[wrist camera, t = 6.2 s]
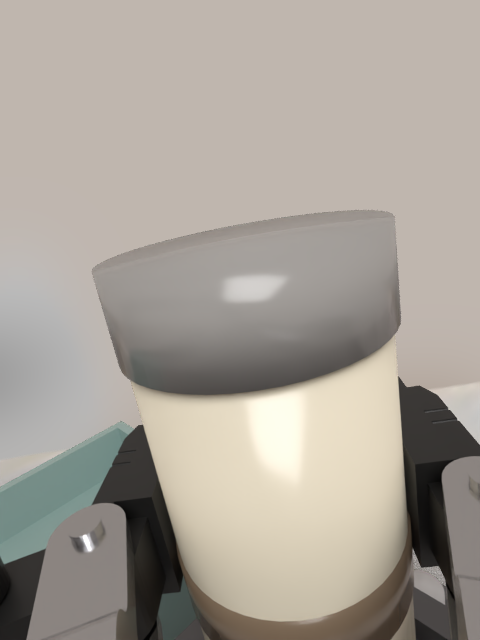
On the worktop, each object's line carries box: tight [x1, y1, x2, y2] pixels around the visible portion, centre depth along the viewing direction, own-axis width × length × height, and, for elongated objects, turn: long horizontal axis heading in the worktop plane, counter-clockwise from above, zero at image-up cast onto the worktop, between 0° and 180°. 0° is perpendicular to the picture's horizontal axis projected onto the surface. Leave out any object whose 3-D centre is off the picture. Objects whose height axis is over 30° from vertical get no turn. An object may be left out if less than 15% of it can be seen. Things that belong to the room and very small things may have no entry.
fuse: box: [92, 210, 416, 640], centre depth 9 cm, size 5×5×13 cm
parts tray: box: [0, 421, 196, 640], centre depth 16 cm, size 15×11×3 cm
